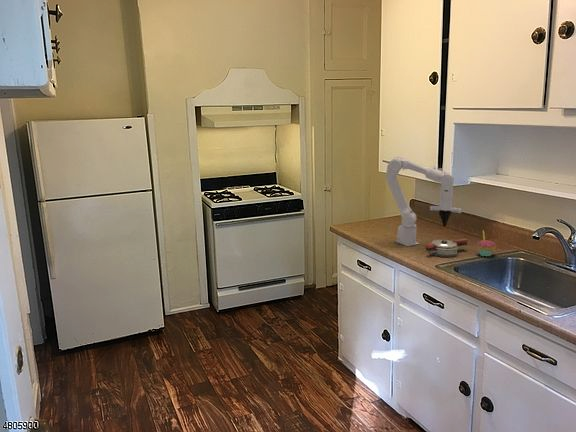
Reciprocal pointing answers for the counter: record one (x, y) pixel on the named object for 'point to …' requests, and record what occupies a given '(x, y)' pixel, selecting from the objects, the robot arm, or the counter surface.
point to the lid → (446, 243)
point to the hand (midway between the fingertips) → (444, 225)
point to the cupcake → (485, 247)
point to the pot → (445, 251)
